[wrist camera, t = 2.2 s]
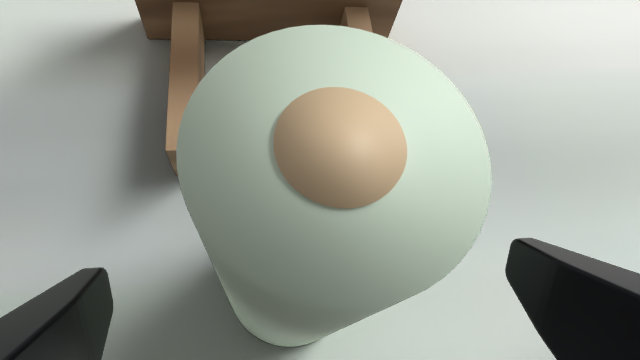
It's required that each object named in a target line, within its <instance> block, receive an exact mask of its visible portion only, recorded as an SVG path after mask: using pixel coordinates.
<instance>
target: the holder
mask: <svg viewBox="0 0 640 360" xmlns="http://www.w3.org/2000/svg"><path fill="white" fill-rule="evenodd" d="M135 2H136V5H137V8H138V11H139V14H140V17H141V20H142V23H143V26H144V29H145V32H146V35H147V38H148V39H171V49H170V69H169V89H168V109H167V130H166V150H165V151H166V153H167V155H168V158H169V160H170V162H171V165H172V167H173V169H174V171H175V174H176V176H178V173H177V159H176V147H177V139H178V131H179V127H180V123H181V120H182V116H183V113H184V110H185V108H186V106H187V104H188V102H189V99H190V97H191V95H192V94H193V92H194V90H195V89H196V87H197V86H198V84H199V83H200V81H201V80H202V79H203V77H204V76H205V40H252V39H254V38H257V37H259V36H262V35H265V34H267V33H270V32H273V31H277V30H281V29H286V28H290V27H297V26H305V25H335V26H345V27H350V28H356V29H361V30H365V31H368V32H372V33H375V34H378V35H381V36H384V37H386V38H388V36H389V33H390V31H391V28H392V26H393V23H394V21H395V18H396V15H397V13H398V10H399V8H400V5H401V3H402V0H135Z"/></svg>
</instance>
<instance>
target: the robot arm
mask: <svg viewBox="0 0 640 360" xmlns="http://www.w3.org/2000/svg"><path fill="white" fill-rule="evenodd" d="M505 271H506V277H507V280H508V281H509V283H510V285H511V287H512V288H513V290H514V292H515V294H516V295H517V297H518V299H519V301H520V302H521V304H522V306H523V308H524V309H525V311H526V313H527V315H528V316H529V318H530V320H531V322H532V323H533V325H534V327H535V328H536V330H537V332H538V333H539V335H540V336H541V338H542V339H543V341H544V342H545V344H546V345H547V347H548V348H549V349H550V351H551V352H552V354H553V355H554V357H555V358H556V359H557V360H640V274H639V273H636V272H633V271H630V270H627V269H624V268H621V267H618V266H615V265H612V264H609V263H606V262H603V261H600V260H597V259H594V258H591V257H588V256H585V255H582V254H579V253H576V252H573V251H570V250H567V249H564V248H561V247H558V246H555V245H552V244H549V243H545V242H542V241H539V240H536V239H533V238H519V239H515V240H513V241H512V243H511V246H510V250H509V255H508V259H507V264H506V269H505ZM112 313H113V298H112V293H111V288H110V283H109V278H108V273H107V271H106V270H105V269H104V268H101V267H100V268H85V269H82V270H80V271H78V272H76V273H75V274H73V275H71V276H70V277H68V278H66V279H65V280H63V281H61V282H60V283H58V284H56V285H55V286H53V287H51V288H50V289H48V290H46V291H45V292H43V293H41V294H40V295H38V296H36V297H35V298H33V299H31V300H30V301H28V302H26V303H24V304H23V305H21V306H19V307H18V308H16V309H14V310H13V311H11V312H9V313H8V314H6V315H4V316H3V317H1V318H0V360H101V358H102V354H103V350H104V346H105V342H106V338H107V334H108V330H109V326H110V322H111V318H112Z"/></svg>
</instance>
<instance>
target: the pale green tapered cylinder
mask: <svg viewBox="0 0 640 360" xmlns="http://www.w3.org/2000/svg"><path fill="white" fill-rule="evenodd" d="M176 159H177V173H178V178H179V183H180V189H181V192H182V195H183V198H184V200H185V203H186V206H187V209H188V211H189V213H190V216H191V218H192V220H193V222H194V224H195V227H196V229H197V231H198V233H199V235H200V238H201V240H202V242H203V244H204V246H205V249H206V251H207V253H208V255H209V257H210V260H211V262H212V264H213V266H214V268H215V271H216V273H217V275H218V277H219V279H220V282H221V284H222V286H223V288H224V290H225V292H226V295H227V297H228V299H229V301H230V303H231V306H232V308H233V310H234V312H235V314H236V316H237V318H238V319H239V321H240V322H241V323H242V325H243V326H244V327H245V328H246V329H247V330H248V331H249V332H250V333H252V334H253V335H254V336H256V337H257V338H259V339H261V340H262V341H265V342H267V343H269V344H273V345H277V346H284V347H296V346H302V345H306V344H309V343H312V342H314V341H316V340H318V339H321V338H323V337H325V336H327V335H329V334H331V333H334V332H336V331H338V330H340V329H342V328H344V327H347V326H349V325H351V324H353V323H355V322H357V321H360V320H362V319H364V318H366V317H368V316H371V315H373V314H375V313H377V312H379V311H381V310H384V309H386V308H388V307H390V306H392V305H394V304H397V303H399V302H401V301H403V300H405V299H407V298H410V297H412V296H414V295H416V294H418V293H420V292H422V291H424V290H426V289H428V288H429V287H431V286H432V285H434V284H435V283H437V282H438V281H440V280H441V279H443V278H444V277H445V276H446V275H447V274H448V273H449V272H450V271H451V270H453V269H454V268H455V267H456V266H457V265H458V264H459V263H460V261H461V260H462V259H463V258H464V256H465V255H466V254H467V253H468V251H469V250H470V249H471V247H472V245H473V244H474V242H475V240H476V238H477V236H478V235H479V233H480V231H481V228H482V225H483V223H484V220H485V217H486V215H487V211H488V206H489V201H490V196H491V180H492V177H491V164H490V157H489V152H488V148H487V143H486V140H485V137H484V135H483V132H482V129H481V126H480V124H479V122H478V120H477V118H476V116H475V114H474V112H473V110H472V109H471V107H470V106H469V104H468V103H467V101H466V99H465V98H464V96H463V95H462V94H461V93H460V91H459V90H458V89H457V88H456V87H455V85H454V84H453V83H452V82H451V81H450V80H449V79H448V78H447V77H446V76H445V75H444V74H443V73H442V72H441V71H440V70H439V69H438V68H437V67H435V66H434V65H433V64H431V63H430V62H429V61H428V60H426V59H425V58H424V57H422V56H421V55H419V54H417V53H416V52H414V51H413V50H411V49H410V48H408V47H406V46H404V45H402V44H400V43H398V42H396V41H394V40H391V39H389V38H386V37H384V36H381V35H378V34H375V33H372V32H368V31H365V30H361V29H356V28H350V27H345V26H335V25H305V26H297V27H290V28H286V29H281V30H277V31H273V32H270V33H267V34H265V35H262V36H259V37H257V38H254V39H252V40H250V41H249V42H247V43H245V44H243V45H241V46H239V47H238V48H236V49H235V50H233V51H232V52H230V53H229V54H227V55H226V56H225V57H223V58H222V59H221V60H220V61H219V62H218V63H217V64H215V65H214V66H213V67H212V68H211V69H210V71H209V72H208V73H207V74H206V75H205V76H204V77H203V79H202V80H201V81H200V83H199V84H198V86H197V87H196V89H195V90H194V92H193V94H192V95H191V97H190V99H189V102H188V104H187V106H186V108H185V110H184V113H183V116H182V120H181V123H180V127H179V131H178V139H177V147H176Z"/></svg>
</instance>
